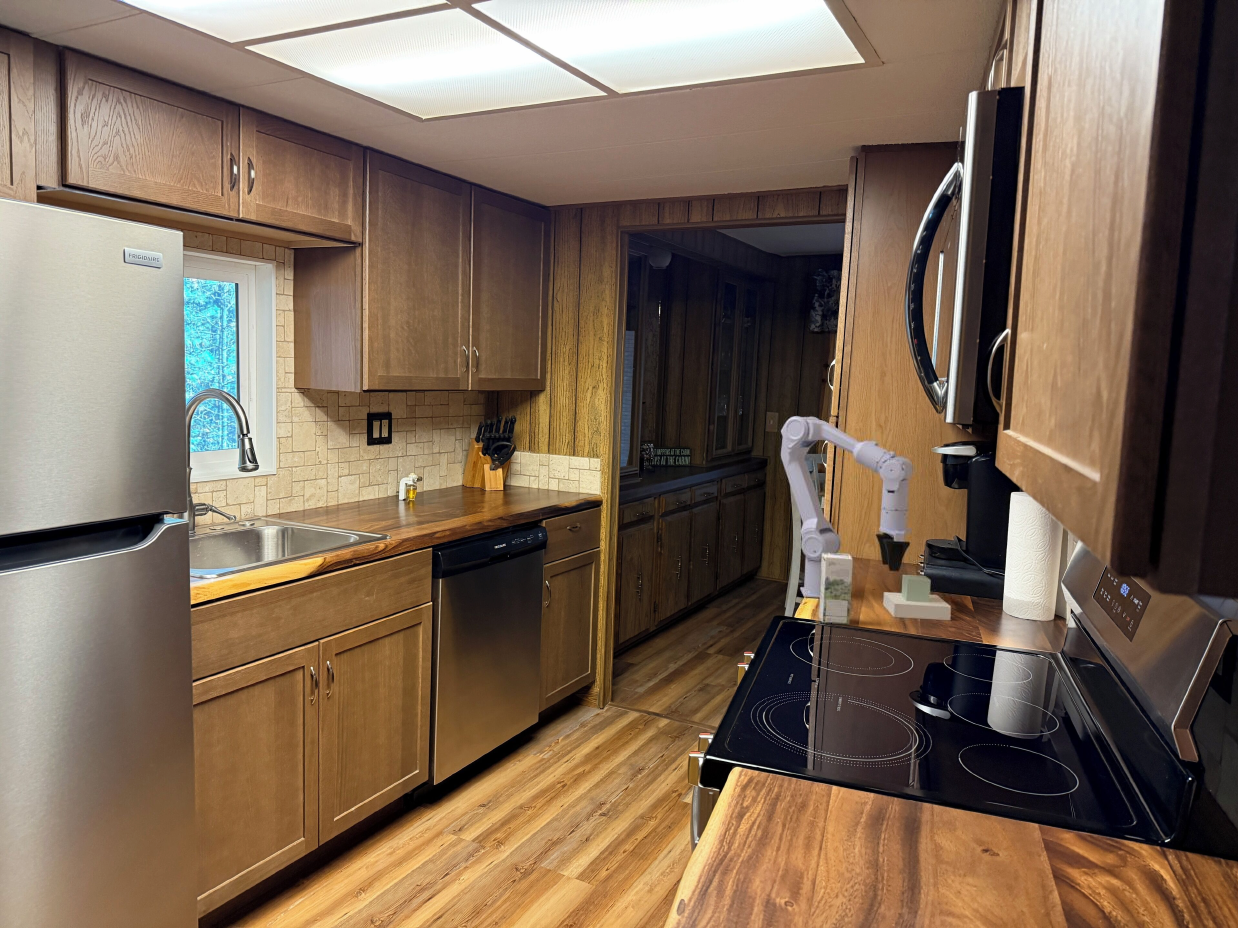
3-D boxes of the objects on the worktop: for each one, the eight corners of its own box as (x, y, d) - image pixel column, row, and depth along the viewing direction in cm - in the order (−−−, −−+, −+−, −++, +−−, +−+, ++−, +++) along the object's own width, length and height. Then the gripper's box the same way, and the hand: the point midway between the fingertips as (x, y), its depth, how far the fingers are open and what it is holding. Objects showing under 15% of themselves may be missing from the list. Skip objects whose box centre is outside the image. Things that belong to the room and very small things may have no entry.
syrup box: (845, 618, 185) (848, 552, 184) (849, 625, 180) (853, 557, 179) (818, 617, 186) (821, 551, 185) (822, 623, 180) (825, 556, 179)
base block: (883, 604, 200) (883, 592, 200) (936, 607, 199) (936, 594, 199) (894, 616, 188) (894, 603, 188) (950, 620, 187) (951, 606, 187)
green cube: (901, 596, 196) (902, 574, 196) (924, 597, 195) (925, 575, 195) (906, 600, 191) (907, 578, 191) (929, 602, 190) (930, 580, 190)
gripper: (919, 514, 188) (915, 574, 189) (905, 506, 203) (901, 562, 204) (886, 512, 189) (883, 572, 190) (874, 505, 204) (871, 561, 205)
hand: (890, 567), depth 197 cm, fingers open, 7 cm apart
